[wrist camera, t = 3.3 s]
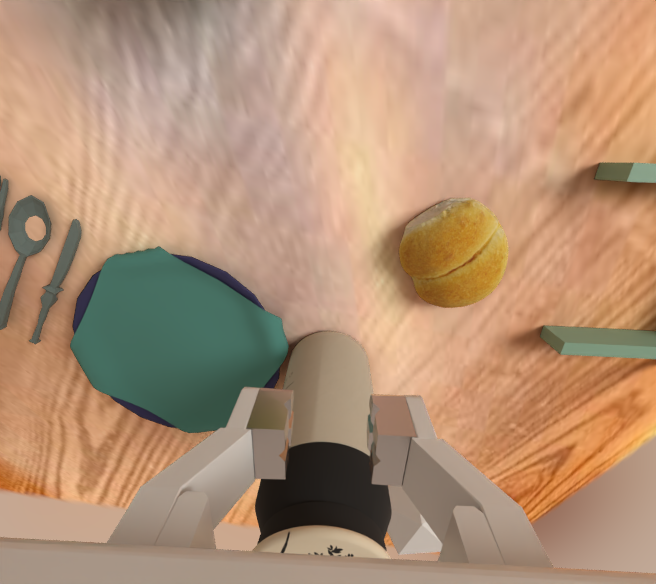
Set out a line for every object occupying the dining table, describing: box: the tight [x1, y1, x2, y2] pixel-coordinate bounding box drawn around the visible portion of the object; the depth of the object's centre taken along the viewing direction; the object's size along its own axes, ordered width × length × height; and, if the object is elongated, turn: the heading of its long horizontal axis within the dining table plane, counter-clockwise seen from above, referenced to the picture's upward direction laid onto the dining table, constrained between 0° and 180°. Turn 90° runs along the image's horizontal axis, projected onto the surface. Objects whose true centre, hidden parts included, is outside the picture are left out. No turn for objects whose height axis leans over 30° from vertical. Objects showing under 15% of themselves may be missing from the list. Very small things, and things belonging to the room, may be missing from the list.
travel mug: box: [252, 331, 392, 559], centre depth 24 cm, size 8×8×18 cm
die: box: [387, 485, 443, 555], centre depth 34 cm, size 8×9×10 cm
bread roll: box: [399, 198, 508, 308], centre depth 26 cm, size 8×9×4 cm
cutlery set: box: [0, 176, 289, 433], centre depth 30 cm, size 20×30×2 cm, turn 56°
